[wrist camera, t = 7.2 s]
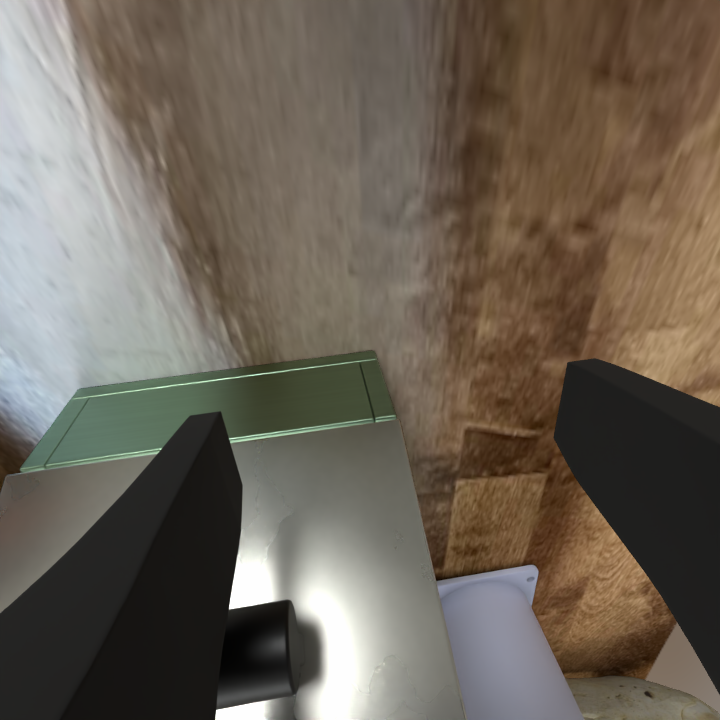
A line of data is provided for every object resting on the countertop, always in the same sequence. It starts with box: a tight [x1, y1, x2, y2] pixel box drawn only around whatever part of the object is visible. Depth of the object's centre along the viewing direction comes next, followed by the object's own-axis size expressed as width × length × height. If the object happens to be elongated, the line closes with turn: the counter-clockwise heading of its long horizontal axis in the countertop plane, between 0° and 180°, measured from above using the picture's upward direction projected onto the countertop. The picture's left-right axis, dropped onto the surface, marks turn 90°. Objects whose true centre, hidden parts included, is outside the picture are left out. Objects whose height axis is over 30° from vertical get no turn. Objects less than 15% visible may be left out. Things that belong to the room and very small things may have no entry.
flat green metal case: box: [20, 351, 397, 473], centre depth 20 cm, size 13×13×5 cm
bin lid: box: [0, 419, 467, 720], centre depth 9 cm, size 13×13×5 cm
